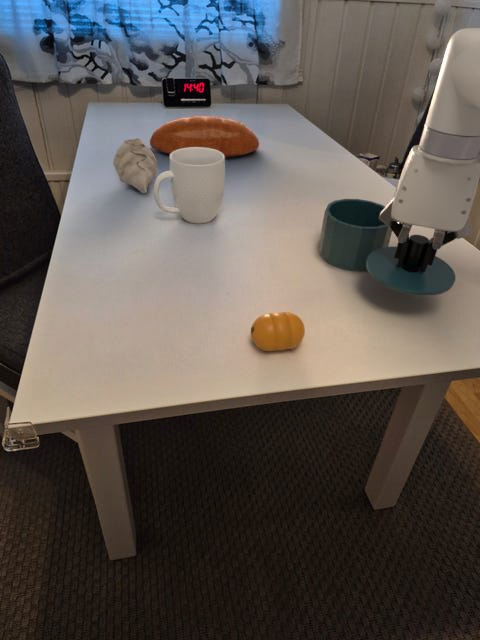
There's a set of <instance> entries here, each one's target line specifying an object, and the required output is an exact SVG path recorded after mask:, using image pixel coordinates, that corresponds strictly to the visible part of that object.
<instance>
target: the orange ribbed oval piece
mask: <svg viewBox="0 0 480 640" xmlns="http://www.w3.org/2000/svg"><path fill="white" fill-rule="evenodd" d="M305 332H306V329H305V324H304V322H303V320H302V318H300V316H298V315H297V314H295V313H294V312H289V311H283V312H281V311H280V312H272V313H267V314H265V313H264V314H262V315H260V316H258V317H257V318H256V319H254V321H253V323H252V325H251V327H250V337H251V340H252V342H253V343H254V345H255V346H256V347H257V348H259V350H263V351H265V352H275V351H283V350H291V349H293V348H295V347H297V346H298V345H300V343H301V342H302V341H303V339H304V337H305Z"/></svg>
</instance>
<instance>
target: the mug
mask: <svg viewBox="0 0 480 640" xmlns="http://www.w3.org/2000/svg"><path fill="white" fill-rule="evenodd" d="M168 157H169V170H166V171H163V172H161V173H160V174H158V176H157V177H156V179H155V181H154V184H153V192H152V193H153V198H154V201H155V203H156V205H157V206H158V207H159V209H160V210H162V211H164V212H166V213H171V214H179V215H180V216H181V217H182V219H184V221H186V222H189V223H190V224H191V223H192V224H207V223H209V222H211V221H212V220H214V218H215V217H216V216H217V215H218V212H219V211H220V209H221V206H222V202H223V200H224V199H223V198H224V195H225V194H224V193H225V183H226V182H225V179H226V174H225V173H226V164H225V163H226V157H225V156H224V154H223V153H221V152H220V151H218V150H215V149H211V148H205V147H188V148H182V149H178V150H175V151H173V152H172V153H171V154H169V156H168ZM166 179H170V186H171V194H172V196H173V200H174V204H175V206H174V207H172V206H171V207H169V206H167V205H164V204H163V202H162V201H161V199H160V195H159V194H160V193H159V189H160V185H161V183H162V182H163V181H164V180H166Z"/></svg>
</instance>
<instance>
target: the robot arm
mask: <svg viewBox="0 0 480 640" xmlns="http://www.w3.org/2000/svg"><path fill="white" fill-rule="evenodd" d="M427 112H428V113H427V116H426V120H425V123H424V125H423V129H422V133H421V137H420V141H419V144H416V145H413V146H412V148H411V149H410V151H409V154H408V155H407V158H406V159H405V163H404V165H403V168H402V171H401V174H400V176H399V179H398V183H397V186H396V188H395V192H394V196H393V198H392V199H391V200H390V201H389V203H387V204H386V206H385V208H384V209H383V210H382V211H381V212H380V215H379V219H380V220H381V221H382V222H383V223H385V224H386V225H387V226H389V227H390V228H391V229H392V233H393V234H394V235H395V237H396V238H397V245H396V246H397V248H396V251H395V255H394V258H397V259H398V262H397V266H398V267H400V266H402V264H403V261H404V258H405V254H406V251H407V248H408V244H409V238H410V232H411V229H412V227H413V226H416V227H422V228H427V229H434V231H433V235H432V237H431V238H430V239H429V244H428V246H427V249H426V252H425V255H424V258H423V261H422V264H421V267H420V270H421V271H422V272H425V270H426V268H427V265H432V263H433V260H434V258H435V256H437V252H438V250H440V249H441V248H442V247H443V246H445V245H447V244H449V243H451V242H454V241H455V240H459V239H464V238H468V237H469V238H470V237H471V236H472V235H473V227H472V222H471V221H472V220H471V216H470V215H471V214H470V213H471V210H472V207H473V203H474V201H475V200H474V199H475V198H476V194H477V191H478V187H479V183H480V27H468V28H467V27H466V28H461V29H459V30H457V31H456V32H454V33H453V34H452V35H451V37H450V38H449V41H448V43H447V45H446V49H445V52H444V55H443V59H442V63H441V65H440V70H439V73H438V78H437V79H436V84H435V88H434V91H433V94H432V98H431V102H430V106H429V109H428V111H427Z"/></svg>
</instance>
